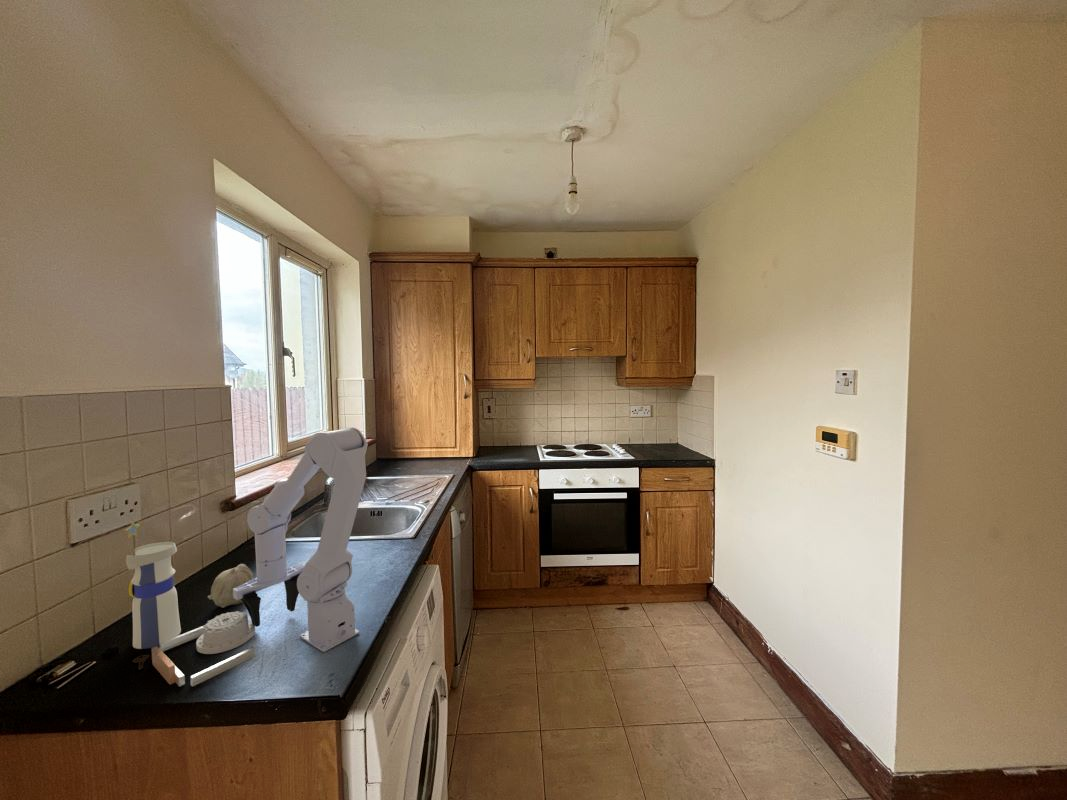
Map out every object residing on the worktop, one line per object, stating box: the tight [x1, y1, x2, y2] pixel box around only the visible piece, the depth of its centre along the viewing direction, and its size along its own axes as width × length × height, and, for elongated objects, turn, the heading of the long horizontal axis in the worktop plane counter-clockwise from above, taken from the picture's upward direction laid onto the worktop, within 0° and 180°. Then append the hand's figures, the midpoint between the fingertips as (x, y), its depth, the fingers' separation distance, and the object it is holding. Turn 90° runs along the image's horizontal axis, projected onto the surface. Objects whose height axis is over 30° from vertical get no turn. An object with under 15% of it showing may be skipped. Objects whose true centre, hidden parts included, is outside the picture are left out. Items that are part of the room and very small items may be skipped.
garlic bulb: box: [207, 563, 255, 609], centre depth 105 cm, size 9×8×10 cm
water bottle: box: [125, 521, 182, 650], centre depth 90 cm, size 8×9×25 cm
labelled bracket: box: [150, 625, 256, 687], centre depth 84 cm, size 18×12×3 cm
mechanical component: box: [195, 610, 256, 655], centre depth 89 cm, size 10×4×10 cm
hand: (273, 617), depth 95 cm, fingers open, 7 cm apart
